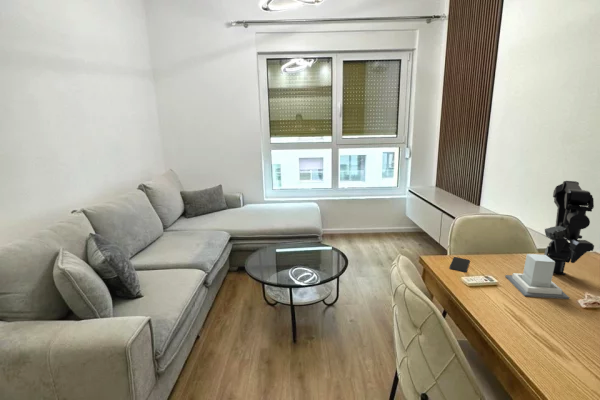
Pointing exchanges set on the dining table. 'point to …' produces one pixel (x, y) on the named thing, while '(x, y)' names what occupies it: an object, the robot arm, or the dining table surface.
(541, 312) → the dining table surface
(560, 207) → the robot arm
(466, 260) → the smartphone
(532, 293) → the dock
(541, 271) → the supplement box
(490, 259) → the dining table surface
